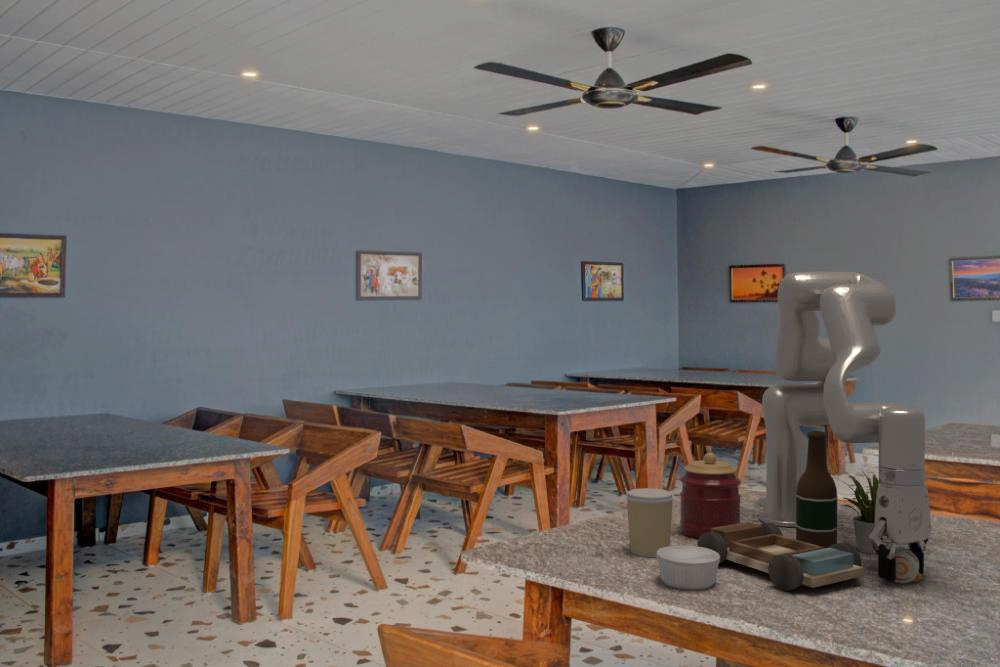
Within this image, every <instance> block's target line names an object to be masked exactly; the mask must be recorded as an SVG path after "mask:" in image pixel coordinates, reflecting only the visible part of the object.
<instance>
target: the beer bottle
mask: <svg viewBox="0 0 1000 667" xmlns="http://www.w3.org/2000/svg"><path fill="white" fill-rule="evenodd" d="M827 435H828V434H827V432H825V431H823V430H810V431H807V435H806V438H808V439H807V440H808V454H807V465H806V470H805V472H804V473H803V475H802V476H801V478H800V480H799V482H798V485H797V493H796V527H795V529H796V530H795V531H796V532H795V534H796V535H795V538H796V540H799V541H803V542H806V543H810V544H814V545H817V546H821V547H825V548H830V546H832V545H834V544H838V490H837V485H836V483H835V479H834V478H833V477H832V475H831V474H830V472H829V469H828V462H827V446H826V439H827V438H828V437H827Z"/></svg>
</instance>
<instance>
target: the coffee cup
mask: <svg viewBox="0 0 1000 667" xmlns="http://www.w3.org/2000/svg"><path fill="white" fill-rule="evenodd" d="M625 499H626V506H627V507H626V508H627V525H628V537H629V539H628V540H629V548H630V549H629V550H630V553H631V554H632V555H635V556H638V557H643V558H644V557H645V558H657V557H656V553H657V551H658V550H659V549H660V548H664V547H669V546H671V533H672V518H673V517H672V516H673V501H674V495H673V493H672V492H671V491H669V490H666V489H660V488H650V487H649V488H647V487H646V488H635V489H630V490H628V491H627V494H626V495H625Z"/></svg>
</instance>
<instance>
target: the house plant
mask: <svg viewBox="0 0 1000 667" xmlns="http://www.w3.org/2000/svg"><path fill="white" fill-rule="evenodd" d="M860 471H861V472H862V474H864V476H865V477H866V481H867V482H868V487H869V492H870V493H869V494H870V498H869V495H868V493H867V492H866V491H865V490H864V487H863V485H862V484H861V483H860V482H859V480H858V479H856V478H855V477H854V476H852V475H851V474H847V475H848V476H849V478H850V479H851V480H852V481H853V483H854V485H855V487H856V488H855V490H854V489H853V488H852V486H850V485H849V484H848V483H846V482H845V481H843V480H840V479H837V480H838V481H839V482H840V481H841V482H842V483H844V484H846V485H847V486H848V487H849V488H850V489H851V490H852V491H853V492H854V497H852V499H851V498H848V497H844V496H842V499H844V500H846V501H848V502H849V503H851V504H853V505H854V506H855V507H857V508H858V510H859V511H860V513H859V511H857V509H856V508H854V507H852V505H849V504H843V505H842V507H846V508H850V509H852V510H853V511H855V512H856V513H857V514H858V515H857V516H853V517H852V521H853V529H854V534H855V540H856V549H857V551H858V552H862V553H865V554H875V555H876V551H875V550H874V549H873V546H872V544H871V542H870V541H869V536H870V534H871V533H872V531H873V530H874V528H875V527H874V521H875V505H876V496H877V490H878V485H880V484H879V478H878V477H877V476H876V474H875V473H873V474H872V480H871V477H870V476H871V475H870V474H869V473H868V472H867V470H866V473H867V474H868V475H867V474H866V473H865V471H863V470H860ZM887 545H888V544H885V546H886V547H887Z"/></svg>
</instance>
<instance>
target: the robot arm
mask: <svg viewBox="0 0 1000 667" xmlns="http://www.w3.org/2000/svg"><path fill="white" fill-rule="evenodd" d="M777 305H778V310H779V327H778V332H777V333H778V334H777V339H776V340H777V341H776V349H775V356H774V370H775V373H776V375H777V376H778V378H781V379H782V380H785V381H791V382H817V383H781V384H780V383H779V384H774V385H772V386H770V387H768V388H767V389H765V391H764V392H763V394H762V399H761V407H762V414H763V419H764V426H765V440H766V441H765V443H766V444H765V445H766V448H765V449H766V450H765V452H766V467H765V468H766V474H765V475H766V477H765V478H766V479H765V480H766V481H765V482H766V486H765V488H766V489H765V492H766V493H765V494H766V497H763V496H760V497H759V498H758V499H757V500H756V501H755V506H757V507H761V508H762V512H760V513H759V515H758V519H759V520H760V521H761V522H762V523H763V524H764V523H773V524H775V525H777V526H778V527H785V528H788V527H789V528H796V493H797V485H798V482H799V480H800V478H801V476H802V475H803V473H804V472H805V470H806V465H807V454H808V440H809V439H807V436H806V435H805V434H804V433H803V431H802V429H801V428H800V426H802V427H803V426H823V425H824V426H825V425H829V426H830V429H831V431H832V433H833V435H834V437H835V438H837V439H838V441H840V442H843V443H847V444H869V443H872V444H873V443H876V444H878V482H879V485H878V490H877V496H876V505H875V521H874V527H875V528H874V530H873V531H872V533H871V534H870V536H869V541H870V542H871V544H872V546H873V549H874V550H875V551H876V554H875V556H877V577H878V579H882V580H885V581H887V580H889V581H888V582H894V581H895V580H896V559H894V558H893V556H894V553H895V550H896V548H897V547H898V545H899V546H902V545H907V547H908V548H907V549H908V550H910V551H912V552H913V553H914V554H915V555H916V557H917V559H918V561H919V573H920V574H921V575H923V574H924V573H925V552H926V550H927V546H926V545H927V543H928V542H929V538H930V537H931V532H932V530H933V525H931V524H932V521H931V519H932V518H931V506H930V496H929V492H928V490H929V489H928V488H927V484H926V481H925V480H926V471H925V470H926V468H925V467H926V462H925V461H926V459H925V458H926V457H925V456H926V416H925V413H924V412H923V411H922V410H921V409H919V408H915V407H908V406H904V405H903V404H900V403H897V402H892V401H891V402H889V401H888V402H887V401H885V402H875V401H874V402H871V401H870V402H868V401H867V402H850V400H849V398H848V395H847V391H846V383H847V378H848V375H850V374H851V373H854V372H856V371H858V370H861V369H863V368H865V367H867V366H869V365H871V364H872V363H874V362H875V361H876V360H877V359H878V358H879V357H880V355H881V350H882V349H881V346H880V343H879V341H878V337H877V334H876V331H875V328H874V326H885V325H888V324H890V323H891V322H892V321H893V320H894V319H895V318H894V317H895V316H896V313H897V312H896V310H897V307H896V306H897V304H896V298H895V297H894V295H893V293H892V292H891V290H890V288H888V287H887V286H886V285H885V284H883V283H882V282H880V281H878V280H877V279H874V278H872V277H870V276H867V275H866V274H863V273H860V272H856V271H824V270H823V271H822V270H821V271H820V270H818V271H797V272H791V273H788V274H786V275H785V276H784V277H783V278H782V279H781V281H780V283H779V286H778V289H777ZM817 312H821V316H822V320H823V322H824V325H825V330H826V332H827V337H828V338H819V335H820V334H819V333H820V328H821V322H820V318H819V315H818V314H817ZM885 544H887V545H889V547H888V548H887V545H886V546H885Z"/></svg>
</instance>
